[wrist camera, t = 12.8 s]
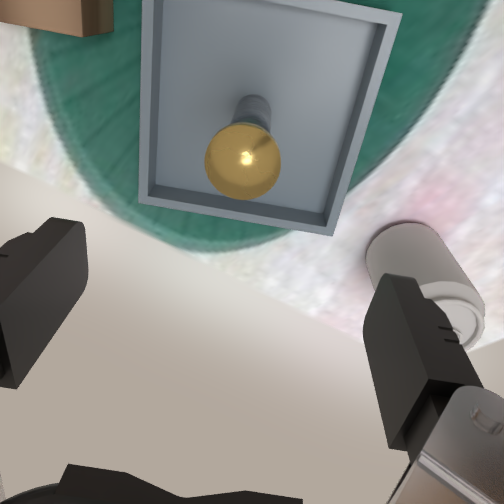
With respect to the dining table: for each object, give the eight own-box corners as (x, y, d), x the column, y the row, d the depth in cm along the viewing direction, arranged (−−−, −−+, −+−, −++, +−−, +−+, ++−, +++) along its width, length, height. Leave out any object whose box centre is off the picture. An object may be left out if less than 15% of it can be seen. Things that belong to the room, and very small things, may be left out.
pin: (284, 90, 33) (288, 133, 22) (274, 143, 35) (272, 205, 25) (231, 80, 33) (208, 119, 22) (224, 134, 35) (200, 193, 24)
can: (394, 205, 39) (436, 279, 28) (456, 238, 40) (518, 319, 30) (349, 263, 42) (372, 347, 32) (408, 291, 44) (448, 380, 34)
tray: (390, 12, 30) (402, 13, 27) (328, 218, 40) (332, 236, 37) (156, -34, 30) (142, -38, 27) (148, 187, 39) (138, 202, 36)
